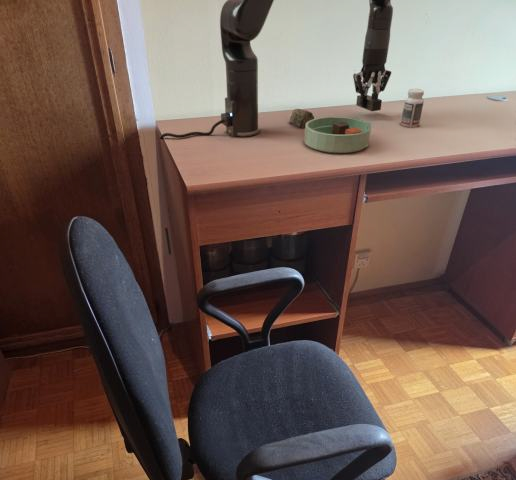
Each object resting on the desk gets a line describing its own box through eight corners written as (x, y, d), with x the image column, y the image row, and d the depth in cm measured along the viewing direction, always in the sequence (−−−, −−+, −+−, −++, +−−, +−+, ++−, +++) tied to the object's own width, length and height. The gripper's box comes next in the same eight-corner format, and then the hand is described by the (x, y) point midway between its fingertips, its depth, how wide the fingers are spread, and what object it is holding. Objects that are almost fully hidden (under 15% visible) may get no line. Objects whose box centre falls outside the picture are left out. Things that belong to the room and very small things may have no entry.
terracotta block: (350, 145, 128) (352, 132, 126) (343, 142, 131) (345, 129, 128) (360, 143, 129) (362, 130, 127) (354, 140, 132) (355, 127, 129)
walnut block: (338, 139, 133) (339, 126, 130) (331, 135, 135) (333, 123, 133) (348, 137, 134) (349, 124, 132) (341, 134, 136) (342, 121, 134)
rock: (283, 125, 146) (284, 109, 143) (296, 119, 151) (297, 104, 148) (302, 128, 143) (302, 113, 140) (314, 123, 147) (316, 108, 144)
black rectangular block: (380, 110, 149) (382, 100, 147) (371, 111, 148) (373, 101, 146) (364, 103, 155) (365, 94, 153) (356, 105, 154) (357, 95, 152)
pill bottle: (417, 122, 148) (424, 88, 141) (420, 127, 143) (427, 92, 137) (399, 122, 148) (405, 88, 141) (401, 127, 144) (408, 92, 137)
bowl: (325, 158, 122) (327, 139, 119) (293, 139, 135) (293, 121, 131) (381, 148, 128) (384, 129, 125) (345, 131, 141) (347, 113, 137)
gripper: (387, 42, 144) (378, 101, 156) (350, 45, 140) (344, 106, 151) (402, 45, 139) (391, 106, 151) (364, 49, 135) (356, 111, 146)
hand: (367, 106), depth 151 cm, fingers closed on black rectangular block, 3 cm apart
